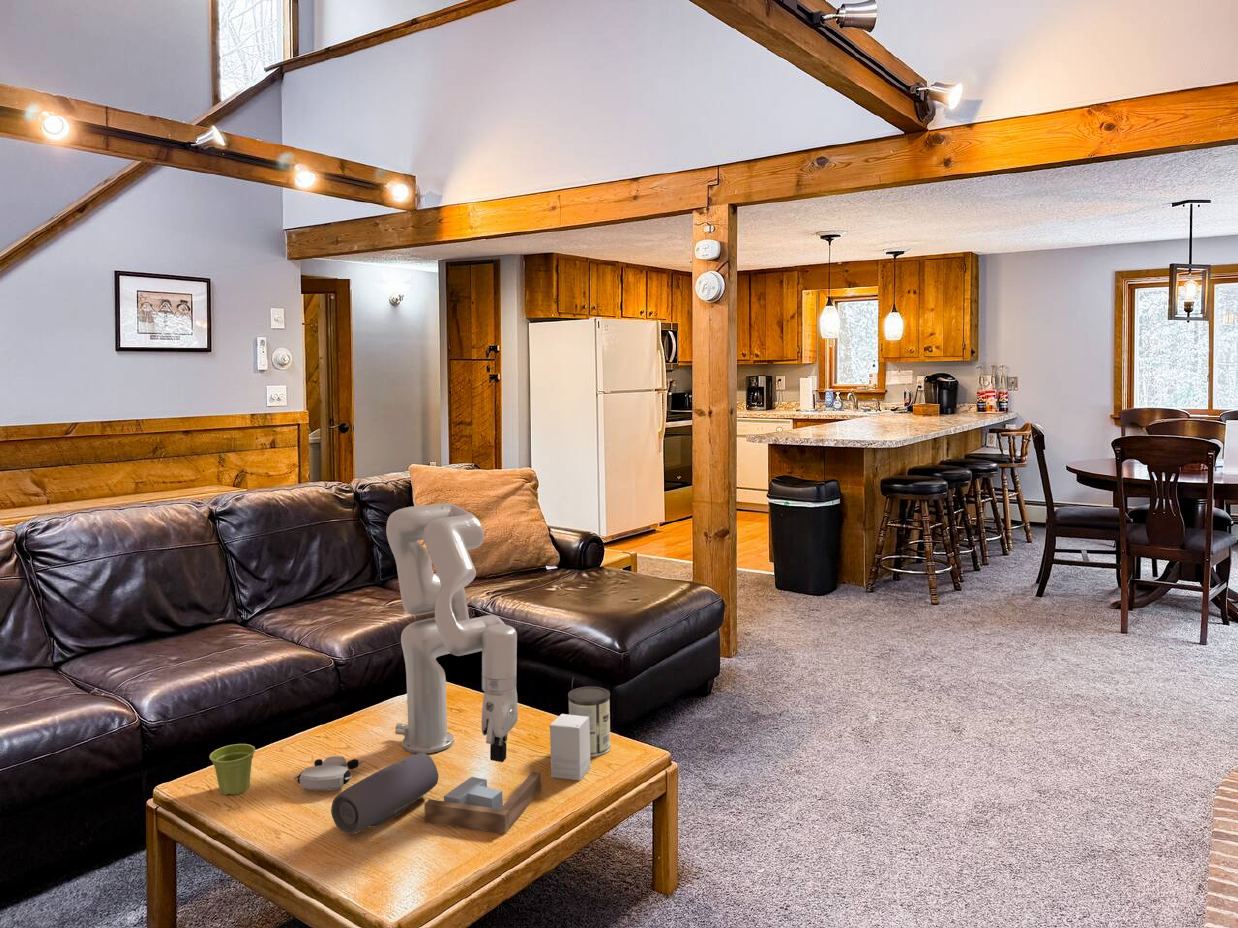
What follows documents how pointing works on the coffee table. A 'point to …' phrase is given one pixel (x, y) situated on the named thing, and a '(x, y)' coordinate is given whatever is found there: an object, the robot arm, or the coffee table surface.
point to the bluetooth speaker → (384, 793)
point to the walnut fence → (485, 810)
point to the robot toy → (327, 773)
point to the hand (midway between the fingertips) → (498, 759)
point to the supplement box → (570, 747)
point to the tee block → (475, 794)
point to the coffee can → (593, 715)
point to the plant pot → (233, 767)
